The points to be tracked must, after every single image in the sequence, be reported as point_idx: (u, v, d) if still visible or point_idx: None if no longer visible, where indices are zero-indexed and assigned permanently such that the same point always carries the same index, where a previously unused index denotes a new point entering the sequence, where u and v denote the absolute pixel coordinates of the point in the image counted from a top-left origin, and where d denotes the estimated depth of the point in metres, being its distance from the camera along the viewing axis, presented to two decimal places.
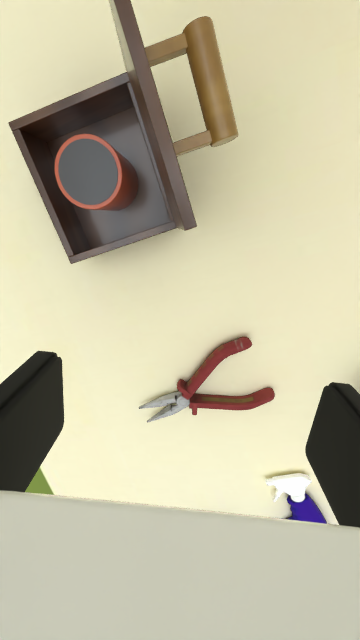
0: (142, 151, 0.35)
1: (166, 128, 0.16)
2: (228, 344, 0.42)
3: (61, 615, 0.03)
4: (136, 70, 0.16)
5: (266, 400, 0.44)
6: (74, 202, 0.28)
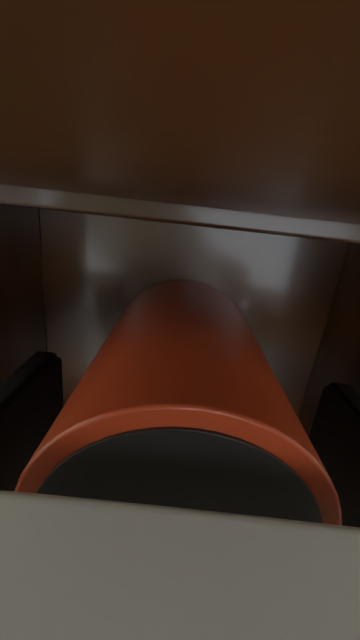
0: (146, 240, 0.12)
1: None
2: None
3: (61, 617, 0.03)
4: None
5: None
6: None
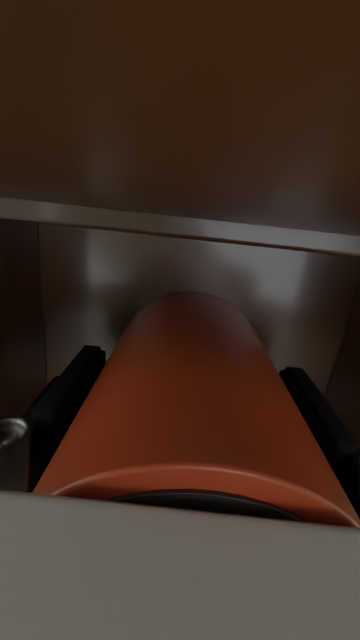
0: (151, 250, 0.12)
1: None
2: None
3: (61, 615, 0.03)
4: None
5: None
6: None
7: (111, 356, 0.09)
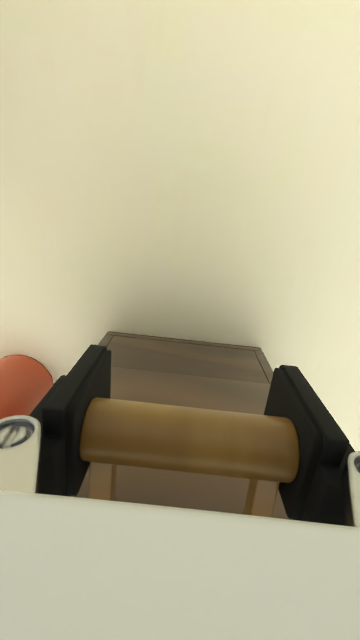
0: None
1: None
2: None
3: (61, 615, 0.03)
4: None
5: None
6: None
7: None
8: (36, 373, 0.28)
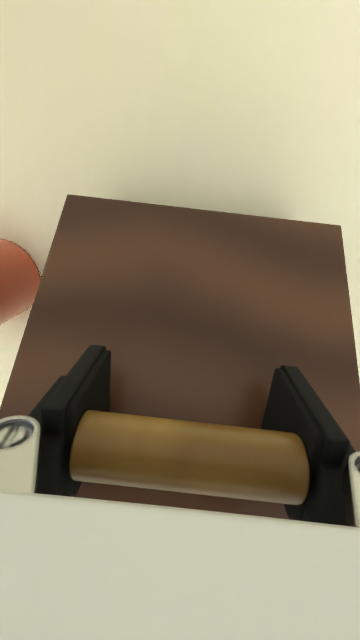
0: None
1: None
2: None
3: (61, 614, 0.03)
4: None
5: None
6: None
7: None
8: (18, 256, 0.23)
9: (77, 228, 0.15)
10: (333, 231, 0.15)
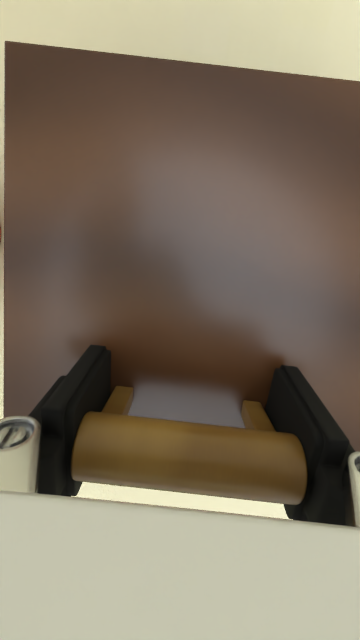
0: None
1: None
2: None
3: (62, 615, 0.03)
4: None
5: None
6: None
7: None
8: None
9: (33, 114, 0.10)
10: None
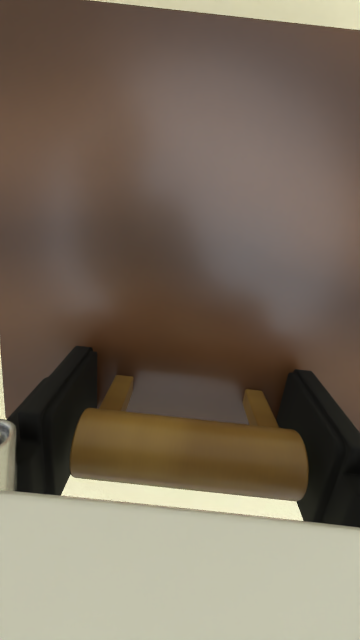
0: None
1: None
2: None
3: (61, 614, 0.03)
4: None
5: None
6: None
7: None
8: None
9: (13, 79, 0.09)
10: None
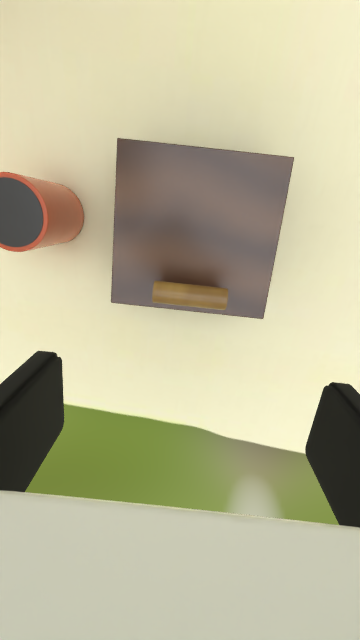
0: None
1: (205, 312, 0.28)
2: None
3: (61, 615, 0.03)
4: None
5: None
6: (34, 243, 0.26)
7: None
8: (70, 194, 0.31)
9: (128, 167, 0.25)
10: (287, 162, 0.24)
